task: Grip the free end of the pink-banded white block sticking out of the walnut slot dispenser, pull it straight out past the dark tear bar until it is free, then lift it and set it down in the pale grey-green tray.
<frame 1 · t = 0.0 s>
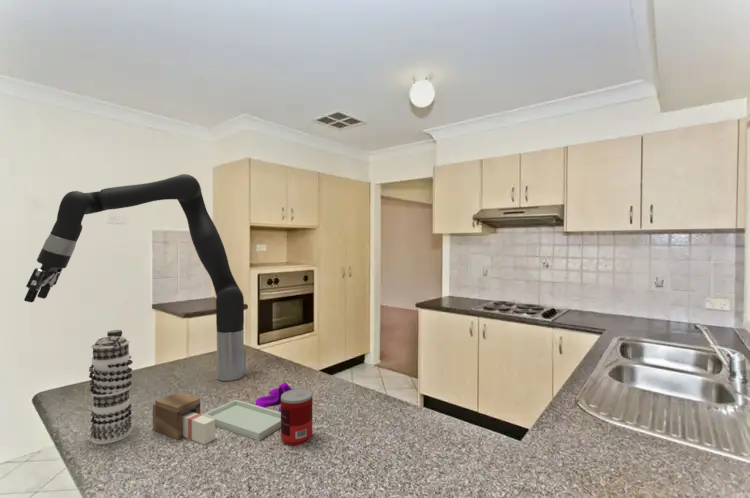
hand: (35, 299, 119), 31 cm above the countertop, tool tilted 20°, fingers open, 8 cm apart
canned food: (296, 438, 97), on the countertop
decorative candle: (112, 436, 98), on the countertop
dispenser: (178, 429, 101), on the countertop
tray: (246, 421, 105), on the countertop
cloth: (288, 401, 120), on the countertop
pink-banded white block: (191, 434, 98), on the countertop
sauce bottle: (116, 390, 127), on the countertop
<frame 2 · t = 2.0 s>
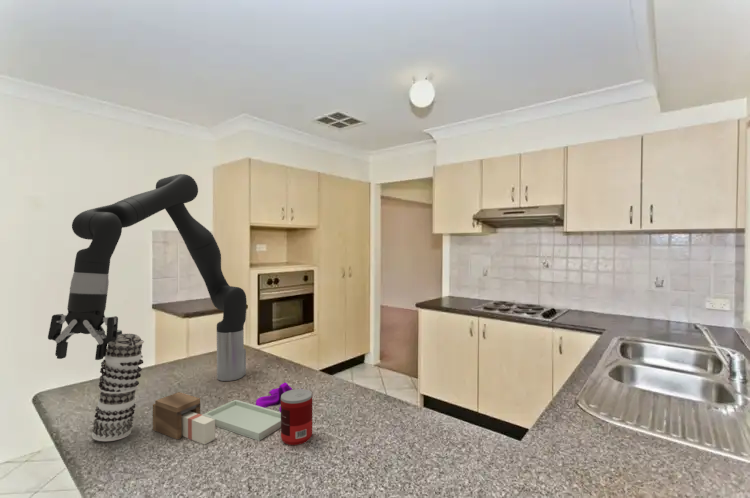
hand: (80, 358, 93), 21 cm above the countertop, tool pointing down, fingers open, 8 cm apart
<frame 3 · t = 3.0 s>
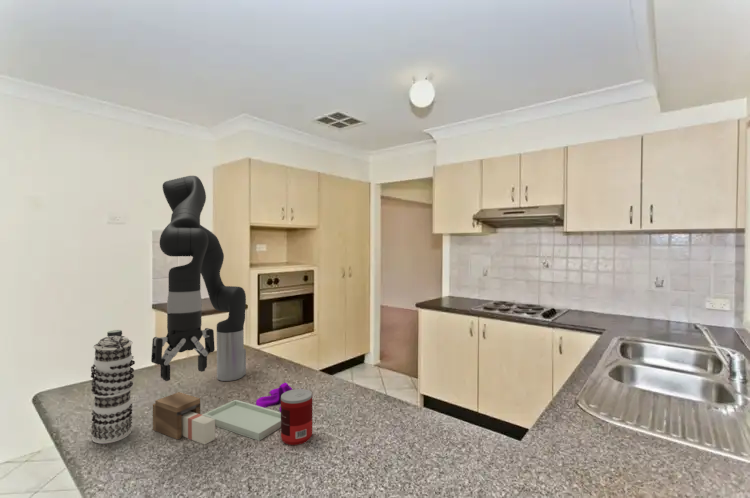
hand: (184, 375, 93), 17 cm above the countertop, tool pointing down, fingers open, 8 cm apart
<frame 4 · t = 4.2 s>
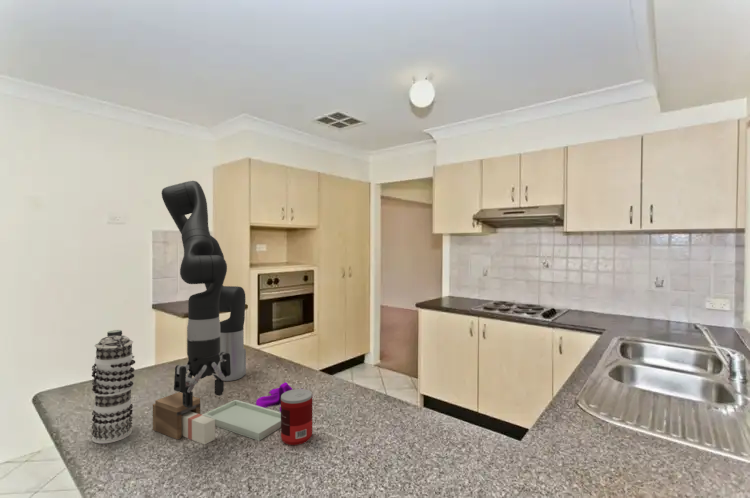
hand: (204, 400, 95), 10 cm above the countertop, tool pointing down, fingers open, 8 cm apart
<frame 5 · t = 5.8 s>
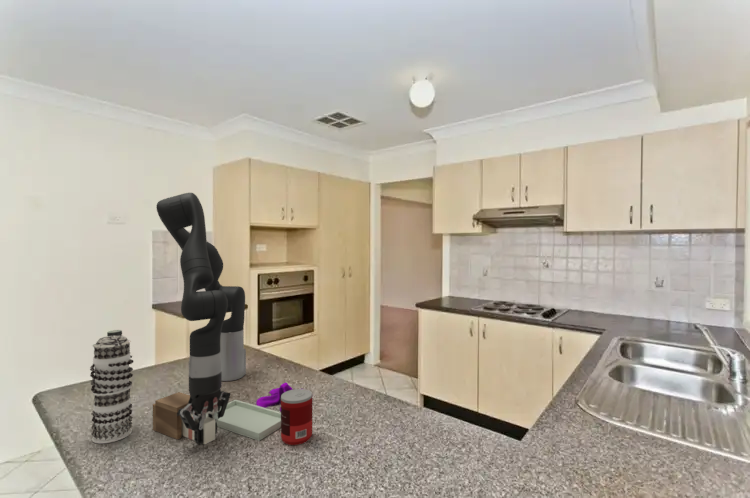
hand: (205, 439, 95), 0 cm above the countertop, tool pointing down, fingers closed on pink-banded white block, 2 cm apart
pink-banded white block: (191, 434, 98), on the countertop, touching gripper
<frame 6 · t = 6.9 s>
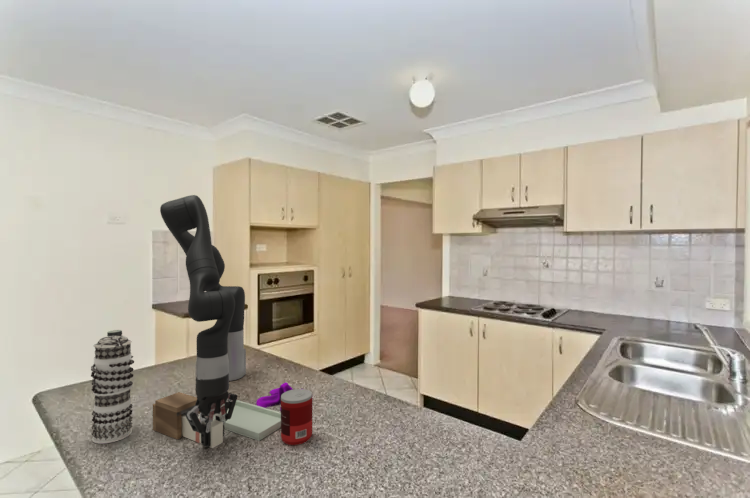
hand: (212, 442, 94), 0 cm above the countertop, tool pointing down, fingers closed on pink-banded white block, 3 cm apart
pink-banded white block: (199, 438, 96), on the countertop, touching gripper
everything else where it was.
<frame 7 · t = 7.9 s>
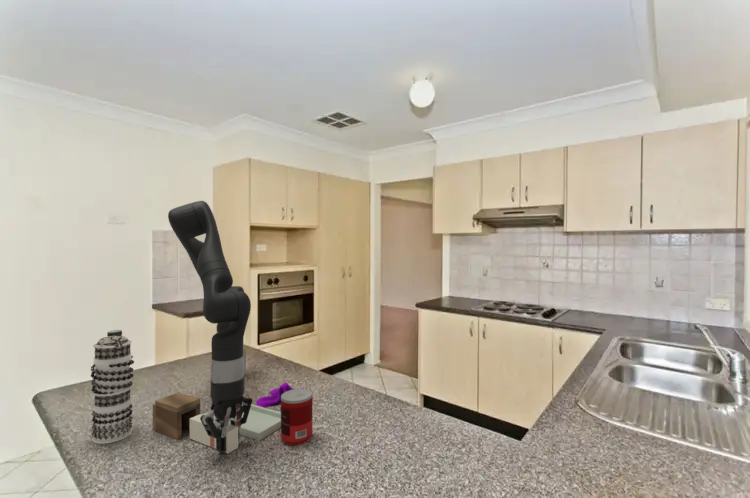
hand: (228, 447, 91), 0 cm above the countertop, tool pointing down, fingers closed on pink-banded white block, 3 cm apart
pink-banded white block: (213, 442, 94), on the countertop, touching gripper
everything else where it was.
when the fingers open (2 cm above the countertop, at t = 12.4 s): pink-banded white block stays where it is, resting on tray.
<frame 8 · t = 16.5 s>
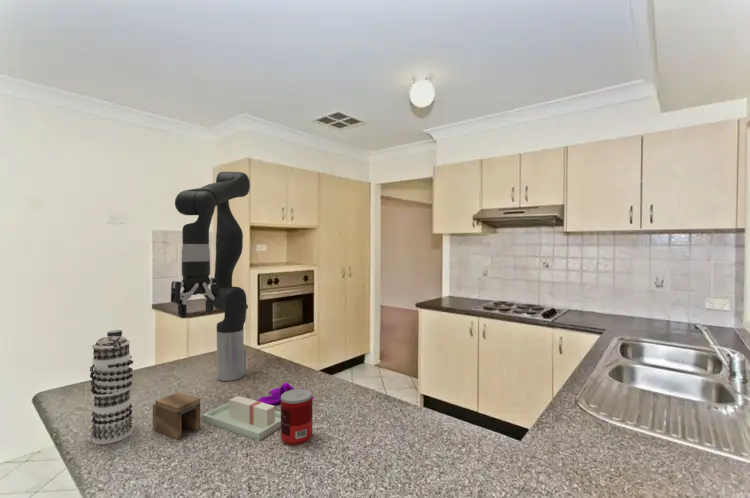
hand: (196, 315, 112), 28 cm above the countertop, tool pointing down, fingers open, 8 cm apart
pink-banded white block: (251, 420, 104), point 1 cm above the countertop, touching tray
everything else where it was.
at the end: pink-banded white block inside the target area on the tray (2.2 cm from its centre), point 0.6 cm above the tray's base; pink-banded white block touching tray; the gripper is holding nothing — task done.
